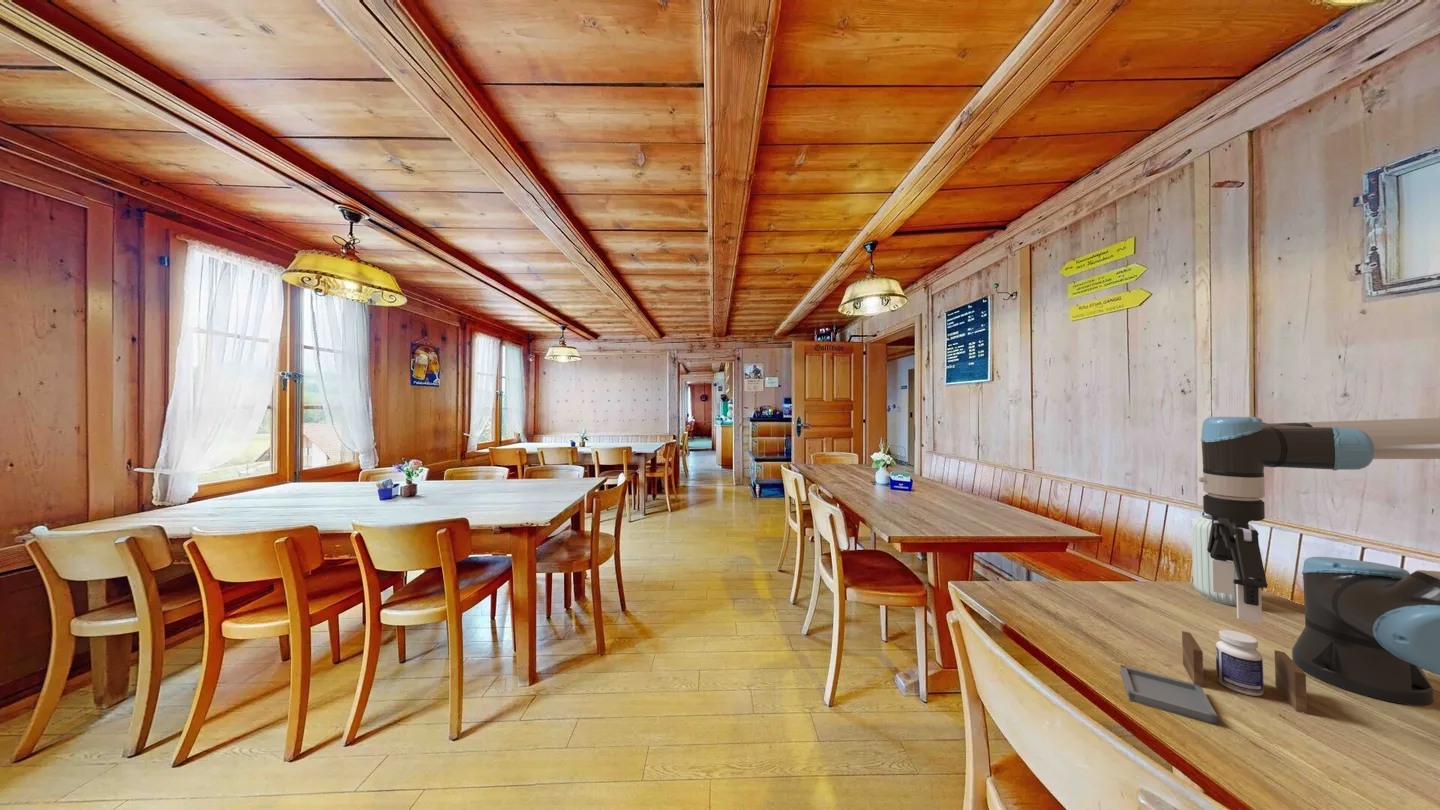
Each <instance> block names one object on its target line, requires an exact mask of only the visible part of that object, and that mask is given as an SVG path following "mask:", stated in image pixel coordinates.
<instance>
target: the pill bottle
mask: <svg viewBox="0 0 1440 810" xmlns="http://www.w3.org/2000/svg"><path fill="white" fill-rule="evenodd" d="M1218 638H1219V639H1220V640H1219V641H1217V642H1216V643H1215V661H1216V662H1215V663H1216V680H1217V681H1218V682H1219V684H1221V685H1223V686H1224V687H1226V688H1228V689H1229V690H1231V691H1235V692H1237V693H1239V694H1243V695H1247V696H1253V697H1254V696H1255V697H1256V696H1257V697H1259V696H1262V695H1263V694H1264V688H1265V687H1264V686H1265V685H1264V665H1263V664H1264V663H1263V662H1264V661H1263V660H1264V659H1263V655H1262V654H1261V653H1260V652H1259V651H1258V650H1257V649H1258V648H1259V643H1258V642H1259V641H1258V640H1257V638H1255V637H1253V636H1251V635H1249V634H1247V633H1244V632H1239V631H1235V630H1229V629H1220V630H1219V632H1218Z"/></svg>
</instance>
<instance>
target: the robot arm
mask: <svg viewBox="0 0 1440 810" xmlns="http://www.w3.org/2000/svg"><path fill="white" fill-rule="evenodd" d="M1202 421H1203V422H1202V426H1201V437H1200V442H1201V454H1202V473H1203V474H1202V477H1199V478H1198V482H1200V483H1203V484H1202V485H1203V490H1202V491H1203V492H1205V493H1207V494H1204V495H1203V496H1202V498H1203V499H1202V503H1203V505H1202V507H1203V512H1204V513H1205V515H1211V516H1212V525H1211V531H1210V537H1209V543H1208V548H1207V551H1208V552H1209V553H1210V556H1211V558H1214V559H1211V562H1212V591H1213V592H1219V593H1225V594H1231V595H1233V583H1234V584H1236V595H1237V606H1236V618H1237V619H1238V620H1241V621H1245V622H1251V623H1256V624H1261V625H1262V624H1263V613H1262V612H1263V611H1262V609H1263V606H1262V605H1263V604H1262V589H1267V588H1268V585H1269V584H1268V582H1267V578H1266V577H1267V576H1266V573H1265V569H1264V563H1263V559H1262V552H1261V548H1260V544H1259V543H1260V542H1259V535H1260V534H1259V532H1258V530H1256V529H1255V530H1251V529H1249V525H1248V524H1249V522H1253V521H1254V522H1259V521H1260V522H1261V521H1263V520H1265V518H1266V516H1265V514H1266V512H1265V509H1266V507H1265V505H1266V504H1265V502H1264V501H1263V499H1262V498H1266V497H1265V496H1266V495H1265V494H1266V493H1265V472H1264V471H1265V467H1266V468H1289V469H1290V468H1292V469H1293V468H1295V469H1310V470H1311V469H1314V470H1316V469H1318V470H1332V471H1338V470H1341V471H1342V470H1346V471H1347V470H1348V471H1349V470H1351V471H1352V470H1361V469H1365V468H1366V467H1368V466H1370V465H1371V463H1372V462H1373V461H1374V460H1440V417H1427V418H1420V417H1419V418H1398V419H1397V418H1395V419H1394V418H1393V419H1368V420H1367V419H1366V420H1364V419H1362V420H1340V421H1339V420H1338V421H1337V420H1335V421H1334V420H1333V421H1307V422H1306V421H1305V422H1279V423H1278V422H1275V423H1269V422H1268V423H1267V422H1263V420H1262V419H1261V418H1260V417H1257V416H1212V417H1211V416H1210V417H1207V418H1205V419H1204V420H1202ZM1226 560H1228V561H1234V565H1235V569H1236V572H1237V576H1238V580H1237V579H1235V580H1234V581H1233V563H1232V562H1228V561H1226ZM1302 567H1303V569H1302V571H1301V575H1302V576H1303V577H1302V578H1303V579H1302V580H1303V581H1302V583H1303V600H1304V622H1305V626H1304V628H1303V630H1302V632H1301V633H1300V634H1299V636H1298V639H1297V641H1296V642H1295V644H1294V645H1293V647H1292V650H1291V657H1292V658H1291V659H1292V661H1293V662H1294V663H1295V664H1296V665H1297V666H1298V667H1299V668H1300V669H1301V670H1302V671H1303V672H1304V673H1307V674H1309V675H1311V676H1313V677H1315V678H1317V679H1319V680H1320V681H1321V680H1322V681H1323V682H1326V683H1328V684H1330V685H1332V686H1336V687H1338V688H1341V689H1344V690H1347V691H1350V692H1353V693H1356V694H1360V695H1362V696H1366V697H1370V698H1373V699H1374V698H1375V699H1376V700H1382V701H1388V702H1390V703H1391V702H1392V703H1398V704H1403V705H1410V706H1412V705H1413V706H1426V705H1431V704H1433V702H1434V689H1433V685H1432V684H1431V683H1430V681H1429V679H1428V676H1427V675H1426V673H1425V672H1424V671H1426V672H1429V673H1431V674H1435V675H1438V676H1440V570H1439V571H1438V570H1437V571H1436V570H1421V569H1417V570H1416V571H1414V572H1412V573H1410V572H1409V571H1408V570H1406V569H1405V568H1403V567H1398V566H1395V565H1391V564H1384V563H1378V562H1372V561H1366V560H1357V559H1350V558H1349V559H1348V558H1343V557H1341V558H1339V557H1333V556H1332V557H1330V556H1328V557H1327V556H1311V557H1307V558H1305V559H1304V561H1303V566H1302ZM1249 578H1253V579H1249Z"/></svg>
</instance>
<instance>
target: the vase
mask: <svg viewBox="0 0 1440 810" xmlns="http://www.w3.org/2000/svg"><path fill="white" fill-rule="evenodd" d="M1211 525H1212V516H1211V515H1208V514H1203V515H1200V516H1198V517H1196V518H1194V519H1193V520H1192V521H1191V527H1190V528H1191V554H1192V555H1191V557H1192V558H1191V559H1192V583H1193V587H1194V589H1195V590H1196V591H1197V592H1198V593H1199V594H1201V595H1202V596H1204V597H1205V598H1206V599H1208V600H1211V601H1214V602H1216V603H1220V604H1224V605H1229V606H1233V607H1234V606H1235V607H1237V595H1236V584H1234V583H1233V595H1231V594H1225V593H1219V592H1213V591H1212V562H1211V559H1214V558H1211V556H1210V553H1209V552H1208V551H1207V548H1208V543H1209V537H1210V531H1211ZM1248 525H1249V529H1251V530H1256V528H1255V527H1254V526H1253V525H1251V524H1250V523H1248ZM1226 561H1228V560H1226ZM1228 562H1232V563H1233V581H1234V580H1235V579H1237V580H1238V576H1237V572H1236V569H1235V565H1234V561H1228ZM1249 579H1253V578H1249Z"/></svg>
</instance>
